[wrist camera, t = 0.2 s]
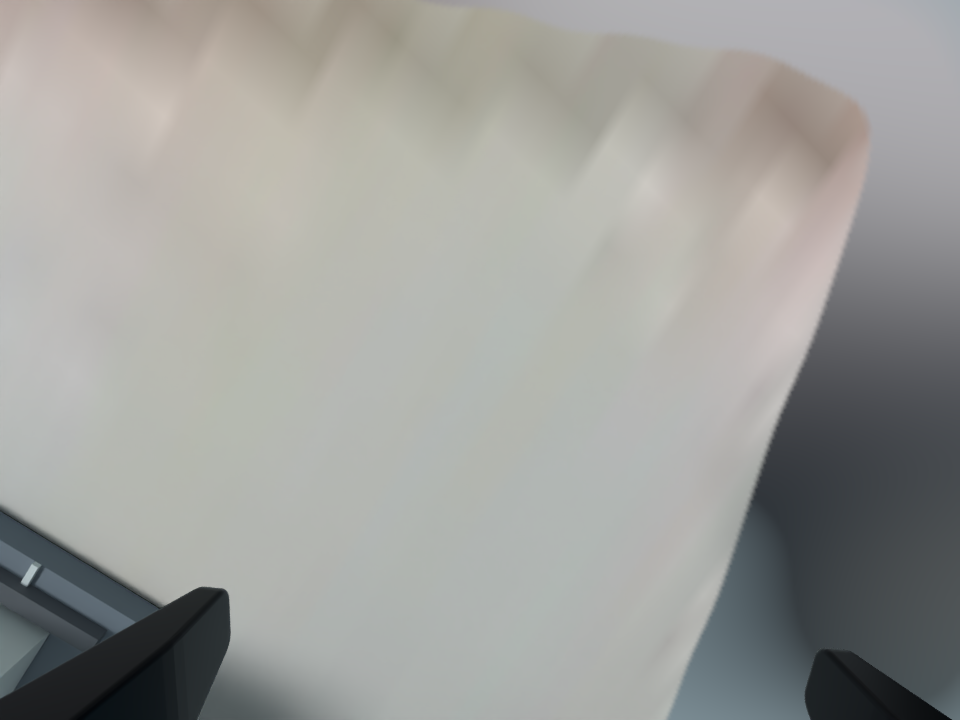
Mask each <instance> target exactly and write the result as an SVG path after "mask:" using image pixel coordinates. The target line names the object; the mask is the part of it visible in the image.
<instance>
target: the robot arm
mask: <svg viewBox="0 0 960 720" xmlns="http://www.w3.org/2000/svg"><path fill="white" fill-rule="evenodd" d="M230 634H231V630H230V606H229V595H228V592H227V591H226V590H225V589H222V588H212V587H199V588H197V589H194V590H193V591H191V592H189V593H187V594H185V595H184V596H182V597H180V598H178V599H177V600H175V601H173V602H171V603H169V604H168V605H166V606H164V607H162V608H161V609H159V610H157V611H155V612H153V613H152V614H150V615H148V616H146V617H144V618H143V619H141V620H139V621H137V622H136V623H134V624H132V625H130V626H128V627H127V628H125V629H123V630H121V631H120V632H118V633H116V634H114V635H112V636H111V637H109V638H107V639H105V640H103V641H102V642H100V643H98V644H96V645H95V646H93V647H91V648H89V649H87V650H86V651H84V652H82V653H80V654H79V655H77V656H75V657H73V658H71V659H70V660H68V661H66V662H64V663H63V664H61V665H59V666H57V667H55V668H54V669H52V670H50V671H48V672H46V673H45V674H43V675H41V676H39V677H38V678H36V679H34V680H32V681H30V682H29V683H27V684H25V685H23V686H22V687H20V688H18V689H16V690H14V691H13V692H11V693H9V694H7V695H5V696H4V697H2V698H0V720H197V718H198V716H199V714H200V711H201V709H202V707H203V704H204V702H205V700H206V698H207V695H208V693H209V691H210V688H211V686H212V684H213V681H214V679H215V677H216V675H217V672H218V670H219V668H220V665H221V663H222V661H223V658H224V656H225V654H226V651H227V649H228V646H229V642H230ZM805 703H806V708H807V711H808V714H809V716H810V719H811V720H952V719H950V718H949V717H947V716H946V715H944V714H943V713H941V712H940V711H938V710H937V709H935V708H934V707H932V706H931V705H929V704H928V703H927V702H925V701H924V700H922V699H921V698H919V697H918V696H916V695H915V694H913V693H912V692H910V691H909V690H907V689H906V688H904V687H903V686H901V685H900V684H898V683H897V682H895V681H894V680H893V679H891V678H890V677H888V676H887V675H885V674H884V673H882V672H881V671H879V670H878V669H876V668H875V667H873V666H872V665H870V664H869V663H867V662H866V661H864V660H863V659H862V658H860V657H859V656H857V655H856V654H854V653H852V652H851V651H848V650H844V649H843V650H842V649H833V648H821V649H819V650H818V651H817V652H816V655H815V657H814V661H813V664H812V668H811V671H810V675H809V678H808V682H807V685H806V689H805Z"/></svg>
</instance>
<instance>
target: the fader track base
mask: <svg viewBox="0 0 960 720" xmlns="http://www.w3.org/2000/svg"><path fill="white" fill-rule="evenodd" d="M0 604H2V605H4V606H5V607H7V608H9V609H11V610H12V611H14V612H16V613H17V614H19V615H21V616H22V617H24V618H26V619H27V620H29V621H31V622H33V623H34V624H36V625H38V626H39V627H41V628H43V629H44V630H46V631H48V632H49V633H50V634H49V635H48V637H47V639H46V640H45V642H44V643H43V645H42V646H41V648H40V650H39V651H38V653H37V654H36V656H35V657H34V659H33V661H32V662H31V664H30V665H29V667H28V668H27V670H26V672H25V673H24V675H23V676H22V678H21V679H20V681H19V683H18V684H17V686H16V687H15V689H14V690H16V689H18V688H20V687H22V686H23V685H25V684H27V683H29V682H30V681H32V680H34V679H36V678H38V677H39V676H41V675H43V674H45V673H46V672H48V671H50V670H52V669H54V668H55V667H57V666H59V665H61V664H63V663H64V662H66V661H68V660H70V659H71V658H73V657H75V656H77V655H79V654H80V653H82V652H84V651H86V650H87V649H89V648H91V647H93V646H95V645H96V644H98V643H100V642H102V641H103V640H105V639H107V638H109V637H111V636H112V635H114V634H116V633H118V632H120V631H121V630H123V629H125V628H127V627H128V626H130V625H132V624H134V623H136V622H137V621H139V620H141V619H143V618H144V617H146V616H148V615H150V614H152V613H153V612H155V611H157V610H159V608H158V607H156V606H154V605H153V604H151V603H149V602H148V601H146V600H144V599H143V598H141V597H140V596H138V595H136V594H135V593H133V592H131V591H130V590H128V589H126V588H125V587H123V586H122V585H120V584H118V583H117V582H115V581H113V580H112V579H110V578H108V577H107V576H105V575H104V574H102V573H100V572H99V571H97V570H95V569H94V568H92V567H91V566H89V565H87V564H86V563H84V562H82V561H81V560H79V559H77V558H76V557H74V556H73V555H71V554H69V553H68V552H66V551H64V550H63V549H61V548H59V547H58V546H56V545H55V544H53V543H51V542H50V541H48V540H46V539H45V538H43V537H41V536H40V535H38V534H37V533H35V532H33V531H32V530H30V529H28V528H27V527H25V526H23V525H22V524H20V523H19V522H17V521H15V520H14V519H12V518H10V517H9V516H7V515H6V514H4V513H2V512H1V511H0Z"/></svg>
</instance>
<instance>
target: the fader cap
mask: <svg viewBox="0 0 960 720" xmlns="http://www.w3.org/2000/svg"><path fill="white" fill-rule="evenodd" d="M49 634H50V633H49V632H48V631H46V630H44V629H43V628H41V627H39V626H38V625H36V624H34V623H33V622H31V621H29V620H27V619H26V618H24V617H22V616H21V615H19V614H17V613H16V612H14V611H12V610H11V609H9V608H7V607H5V606H4V605H2V604H0V698H2V697H4V696H5V695H7V694H9V693H11V692H13V691H14V689H15V687H16V686H17V684H18V683H19V681H20V679H21V678H22V676H23V675H24V673H25V672H26V670H27V668H28V667H29V665H30V664H31V662H32V661H33V659H34V657H35V656H36V654H37V653H38V651H39V650H40V648H41V646H42V645H43V643H44V642H45V640H46V639H47V637H48V635H49Z"/></svg>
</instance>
